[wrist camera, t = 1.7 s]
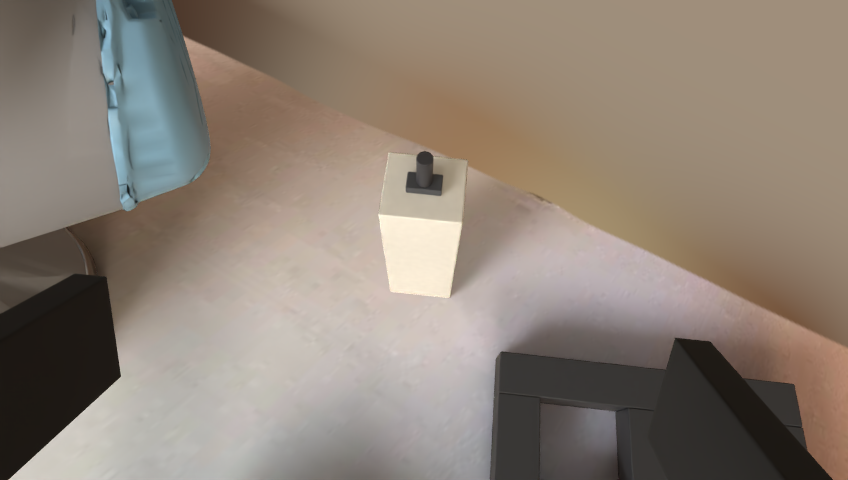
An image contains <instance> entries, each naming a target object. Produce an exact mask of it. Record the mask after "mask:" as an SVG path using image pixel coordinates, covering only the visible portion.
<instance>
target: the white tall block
mask: <svg viewBox="0 0 848 480" xmlns="http://www.w3.org/2000/svg"><path fill="white" fill-rule="evenodd" d="M467 170H468V160H465V159H455V158H444V157H434V156H433V155H432V154H431V153H429V152H426V151H424V152H421V153H419V154H418V155H413V154H403V153H393V152H389V154H388V159H387V165H386V171H385V177H384V183H383V189H382V195H381V201H380V207H379V213H378V216H379V222H380V229H381V235H382V242H383V248H384V254H385V261H386V267H387V273H388V280H389V286H390V291H391V292H398V293H407V294H416V295H426V296H435V297H444V298H450V294H451V289H452V283H453V277H454V271H455V266H456V260H457V254H458V248H459V243H460V237H461V231H462V225H463V216H464V205H465V193H466V181H467Z"/></svg>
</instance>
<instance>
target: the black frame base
mask: <svg viewBox="0 0 848 480" xmlns="http://www.w3.org/2000/svg"><path fill="white" fill-rule="evenodd" d="M665 372H666V370H663V369H654V368H645V367H636V366H627V365H618V364H609V363H600V362H591V361H582V360H573V359H564V358H555V357H546V356H537V355H528V354H519V353H510V352H500V354H499V355H498V357H497V358H496V367H495V388H494V397H495V398H494V408H493V429H492V449H491V470H490V480H539V466H540V403H547V404H556V405H565V406H574V407H582V408H591V409H600V410H608V411H617V412H616V430H617V450H618V470H619V480H668V479H667V477H666V475H665V473H664V471H663V469H662V467H661V465H660V463H659V461H658V459H657V457H656V455H655V453H654V451H653V449H652V447H651V445H650V443H649V441H648V439H647V435H648V431H649V428H650V424H651V421H652V417H653V414H654V410H655V407H656V403H657V400H658V396H659V393H660V389H661V386H662V383H663V379H664V376H665ZM743 379H744V378H743ZM744 380H745V381H746V382H747V384H748V385H749V386H750V387H751V388H752V389H753V390H754V391H755V393H756V394H757V395H758V396H759V397H760V398H761V399H762V400H763V402H764V403H765V404H766V405H767V406H768V407H769V408H770V409H771V411H772V412H773V413H774V414H775V415H776V416H777V417H778V418H779V420H780V421H781V422H782V423H783V424H784V425H785V426H786V428H787V429H788V430H789V431H790V432H791V433H792V434H793V435H794V437H795V438H796V439H797V440H798V441H799V442H800V443H801V444H802V446H803V447H804V448H805V449H806V450H807V446H806V441H805V436H804V431H803V428H802V421H801V416H800V411H799V406H798V401H797V396H796V390H795V385H794V384H789V383H780V382H771V381H762V380H753V379H744Z"/></svg>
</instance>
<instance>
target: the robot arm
mask: <svg viewBox="0 0 848 480" xmlns="http://www.w3.org/2000/svg"><path fill="white" fill-rule="evenodd" d="M210 149H211V146H210V137H209V131H208V126H207V121H206V117H205V113H204V109H203V105H202V101H201V97H200V93H199V90H198V86H197V82H196V78H195V75H194V72H193V68H192V65H191V61H190V58H189V54H188V51H187V48H186V45H185V41H184V38H183V35H182V32H181V28H180V26H179V22H178V19H177V16H176V13H175V9H174V6H173V3H172V1H171V0H0V480H8V479H10V478H11V477H12V476H13V475H14V474H15V473H16V472H17V471H18V470H19V469H20V468H22V467H23V466H24V465H25V464H26V463H27V462H28V461H29V460H30V459H31V458H32V457H34V456H35V455H36V454H37V453H38V452H39V451H40V450H41V449H42V448H43V447H44V446H46V445H47V444H48V443H49V442H50V441H51V440H52V439H53V438H54V437H55V436H56V435H58V434H59V433H60V432H61V431H62V430H63V429H64V428H65V427H66V426H67V425H68V424H70V423H71V422H72V421H73V420H74V419H75V418H76V417H77V416H78V415H79V414H80V413H82V412H83V411H84V410H85V409H86V408H87V407H88V406H89V405H90V404H91V403H92V402H94V401H95V400H96V399H97V398H98V397H99V396H100V395H101V394H102V393H103V392H104V391H106V390H107V389H108V388H109V387H110V386H111V385H112V384H113V383H114V382H115V381H116V380H118V379H119V378H120V377H121V374H120V367H119V360H118V353H117V346H116V339H115V332H114V325H113V318H112V311H111V304H110V297H109V291H108V284H107V277H104V276H98V274H97V269H96V266H95V263H94V260H93V258H92V256H91V254H90V252H89V251H88V249H87V247H86V246H85V245H84V244H83V242H82V241H81V240H80V239H79V238H78V237H77V236H76V235H75V234H73V233H72V232H70V231H69V230H68V229H66V228H65V227H68V226H71V225H74V224H77V223H80V222H84V221H87V220H90V219H93V218H96V217H99V216H103V215H106V214H109V213H112V212H115V211H118V210H122V209H124V210H125V211H130V210H133V209H134V208H135V207H137V205H138V203H139V202H141V201H144V200H147V199H149V198H152V197H155V196H158V195H160V194H163V193H166V192H168V191H171V190H174V189H176V188H179V187H182V186H185V185H187V184H189V183H191V182H193V181H194V180H196V179H197V178H198V177H199V176H200V175H201V174H202V173H203V171H204V170H205V168H206V166H207V164H208V162H209V158H210ZM647 439H648V441H649V443H650V445H651V447H652V449H653V451H654V453H655V455H656V457H657V459H658V461H659V463H660V465H661V467H662V469H663V471H664V473H665V475H666V477H667V479H668V480H833V479H832V478H831V477H830V476H829V475H828V474H827V473H826V471H825V470H824V469H823V468H822V467H821V466H820V465H819V464H818V462H817V461H816V460H815V459H814V458H813V457H812V456H811V455H810V453H809V452H808V451H807V450H806V449H805V448H804V447H803V446H802V444H801V443H800V442H799V441H798V440H797V439H796V438H795V437H794V435H793V434H792V433H791V432H790V431H789V430H788V429H787V428H786V426H785V425H784V424H783V423H782V422H781V421H780V420H779V418H778V417H777V416H776V415H775V414H774V413H773V412H772V411H771V409H770V408H769V407H768V406H767V405H766V404H765V403H764V402H763V400H762V399H761V398H760V397H759V396H758V395H757V394H756V393H755V391H754V390H753V389H752V388H751V387H750V386H749V385H748V384H747V382H746V381H745V380H744V379H743V378H742V377H741V376H740V375H739V373H738V372H737V371H736V370H735V369H734V368H733V367H732V366H731V364H730V363H729V362H728V361H727V360H726V359H725V358H724V357H723V355H722V354H721V353H720V352H719V351H718V350H717V349H716V348H715V346H714V345H713V344H712V343H711V342H709V341H700V340H691V339H682V338H675V341H674V344H673V348H672V351H671V355H670V358H669V362H668V365H667V369H666V372H665V376H664V379H663V383H662V386H661V389H660V393H659V396H658V400H657V403H656V407H655V410H654V414H653V417H652V421H651V424H650V428H649V431H648V435H647Z"/></svg>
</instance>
